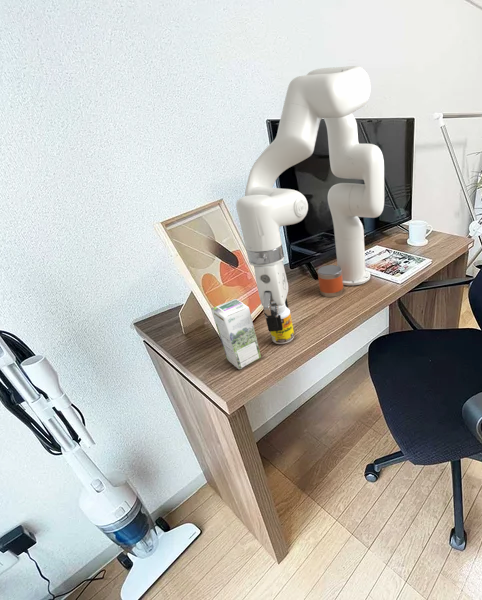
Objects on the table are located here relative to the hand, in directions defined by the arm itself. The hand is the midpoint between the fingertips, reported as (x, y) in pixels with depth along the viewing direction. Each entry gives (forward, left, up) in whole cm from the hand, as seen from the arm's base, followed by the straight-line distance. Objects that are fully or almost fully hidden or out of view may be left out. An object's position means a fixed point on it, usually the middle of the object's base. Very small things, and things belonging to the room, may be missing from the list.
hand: (279, 319), depth 80 cm
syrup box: (+7, -8, -6) cm, 12 cm away
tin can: (-24, +12, -6) cm, 28 cm away
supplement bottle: (0, 0, -6) cm, 6 cm away
